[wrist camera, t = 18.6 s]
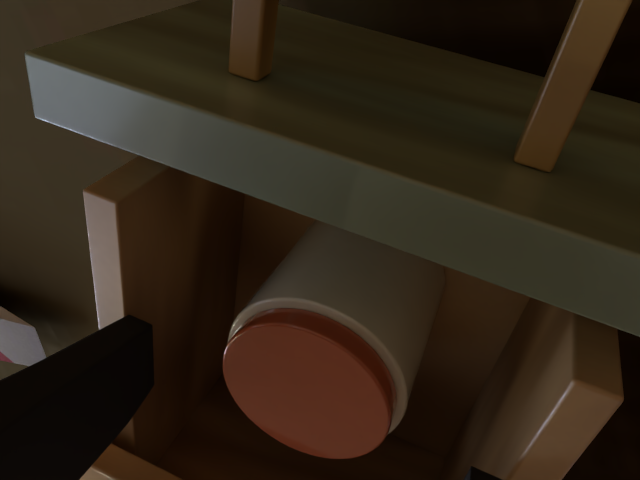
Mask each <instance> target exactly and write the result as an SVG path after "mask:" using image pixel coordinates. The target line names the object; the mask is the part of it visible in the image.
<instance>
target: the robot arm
mask: <svg viewBox="0 0 640 480" xmlns="http://www.w3.org/2000/svg"><path fill="white" fill-rule="evenodd" d="M153 386H154V357H153V326H152V324H150V323H147V322H145V321H143V320H141V319H138V318H136V317H134V316H132V315H127V316H125V317H123V318H121V319H119V320H117V321H115V322H113V323H111V324H110V325H108V326H106V327H104V328H102V329H100V330H98V331H96V332H95V333H93V334H91V335H89V336H87V337H85V338H83V339H81V340H80V341H78V342H76V343H74V344H72V345H70V346H68V347H66V348H64V349H62V350H61V351H59V352H57V353H55V354H53V355H51V356H49V357H47V358H45V359H43V360H41V361H39V362H37V363H35V364H33V365H31V366H29V367H27V368H25V369H23V370H21V371H19V372H17V373H15V374H13V375H10V376H8V377H6V378H4V379H2V380H0V480H79V479H80V478H81V477H82V476H83V475H84V474H85V473H86V471H87V470H88V469H89V468H90V467H91V466H92V465H93V464H94V462H95V461H96V460H97V459H98V458H99V457H100V456H101V454H102V453H103V452H104V451H105V450H106V449H107V447H108V446H109V445H110V444H111V443H112V442H113V441H114V439H115V438H116V437H117V436H118V435H119V434H120V432H121V431H122V430H123V429H124V428H125V427H126V425H127V424H128V423H129V421H130V420H131V418H132V417H133V416H134V414H135V413H136V411H137V410H138V409H139V407H140V406H141V404H142V403H143V401H144V400H145V398H146V397H147V395H148V394H149V392H150V391H151V389H152V388H153ZM464 480H502V479H500V478H498V477H495V476H493V475H491V474H489V473H486V472H484V471H482V470H480V469H477V468H475V467H473V466H471V468H470V469H469V471H468V473H467V474H466V476H465V478H464Z"/></svg>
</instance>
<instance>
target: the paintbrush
mask: <svg viewBox="0 0 640 480" xmlns="http://www.w3.org/2000/svg"><path fill="white" fill-rule="evenodd" d="M45 358H46V356H45V353H44V351H43V348H42V345H41V343H40V340H39V338H38V335H37V332H36V330H35V327H33V326H31V325H30V324H28V323H27V322H25V321H23V320H22V319H20V318H19V317H17V316H15V315H14V314H12V313H11V312H9V311H7V310H6V309H4V308H3V307H1V306H0V360H2V361H7V362H12V363H17V364H22V365H27V366H31V365H33V364H35V363H37V362H39V361H41V360H43V359H45Z"/></svg>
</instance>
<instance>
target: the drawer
mask: <svg viewBox="0 0 640 480" xmlns="http://www.w3.org/2000/svg"><path fill="white" fill-rule="evenodd" d="M631 2H632V0H576V3H575V5H574V8H573V10H572V13H571V15H570V17H569V20H568V22H567V25H566V27H565V29H564V32H563V34H562V37H561V39H560V42H559V44H558V46H557V49H556V51H555V54H554V56H553V58H552V61H551V63H550V66H549V68H548V71H547V73H546V75H545V77H541V76H538V75H534V74H530V73H527V72H523V71H520V70H516V69H512V68H509V67H505V66H501V65H498V64H494V63H490V62H487V61H483V60H479V59H476V58H472V57H468V56H465V55H461V54H458V53H454V52H450V51H447V50H443V49H439V48H436V47H432V46H428V45H425V44H421V43H417V42H414V41H410V40H407V39H403V38H399V37H396V36H392V35H388V34H385V33H381V32H377V31H374V30H370V29H366V28H363V27H359V26H355V25H352V24H348V23H345V22H341V21H337V20H334V19H330V18H326V17H323V16H319V15H315V14H312V13H308V12H304V11H301V10H297V9H294V8H290V7H286V6H283V5H279V4H278V3H279V0H199V1H196V2H192V3H189V4H186V5H182V6H179V7H175V8H172V9H168V10H165V11H162V12H158V13H155V14H151V15H148V16H145V17H141V18H138V19H134V20H131V21H128V22H124V23H121V24H117V25H114V26H110V27H107V28H104V29H100V30H97V31H93V32H90V33H87V34H83V35H80V36H76V37H73V38H70V39H66V40H63V41H59V42H56V43H52V44H49V45H46V46H42V47H39V48H35V49H32V50H29V51H26V52H25V61H26V67H27V73H28V79H29V85H30V91H31V97H32V104H33V110H34V115H35V117H36V118H37V119H40V120H43V121H46V122H48V123H51V124H54V125H57V126H59V127H62V128H65V129H68V130H70V131H73V132H76V133H79V134H81V135H84V136H87V137H90V138H93V139H95V140H98V141H101V142H104V143H106V144H109V145H112V146H115V147H117V148H120V149H123V150H126V151H128V152H131V153H134V154H137V155H139V156H138V157H136V158H134V159H133V160H131V161H129V162H128V163H126V164H125V165H123V166H121V167H120V168H118V169H116V170H115V171H113V172H111V173H110V174H108V175H106V176H105V177H103V178H102V179H100V180H98V181H97V182H95V183H93V184H92V185H90V186H88V187H87V188H85V189H84V190H83V196H84V204H85V213H86V221H87V230H88V238H89V247H90V255H91V264H92V273H93V281H94V290H95V298H96V307H97V315H98V324H99V330H100V329H102V328H104V327H106V326H108V325H110V324H111V323H113V322H115V321H117V320H119V319H121V318H123V317H125V316H127V315H132V316H134V317H136V318H138V319H141V320H143V321H145V322H147V323H150V324H152V326H153V357H154V386H153V388H152V389H151V391H150V392H149V394H148V395H147V397H146V398H145V400H144V401H143V403H142V404H141V406H140V407H139V409H138V410H137V411H136V413H135V414H134V416H133V417H132V418H131V420H130V421H129V423H128V424H127V425H126V427H125V428H124V429H123V430H122V431H121V432H120V434H119V435H118V436H117V437H116V438H115V439H114V441H113V442H112V443H113V444H114V445H116V446H118V447H119V448H121V449H123V450H125V451H127V452H129V453H131V454H133V455H135V456H137V457H139V458H141V459H143V460H145V461H147V462H149V463H151V464H153V465H155V466H157V467H159V468H161V469H163V470H165V471H167V472H169V473H171V474H173V475H175V476H177V477H179V478H181V479H183V480H464V478H465V476H466V474H467V473H468V471H469V469H470V468H471V466H473V467H475V468H477V469H480V470H482V471H484V472H486V473H489V474H491V475H493V476H495V477H498V478H500V479H502V480H562V479H563V477H564V476H565V475H566V474H567V472H568V471H569V470H570V468H571V467H572V466H573V465H574V463H575V462H576V461H577V460H578V458H579V457H580V456H581V454H582V453H583V452H584V451H585V449H586V448H587V447H588V446H589V444H590V443H591V442H592V440H593V439H594V438H595V437H596V435H597V434H598V433H599V432H600V430H601V429H602V428H603V426H604V425H605V424H606V423H607V421H608V420H609V419H610V418H611V416H612V415H613V414H614V412H615V411H616V410H617V409H618V407H619V406H620V405H621V404H622V402H623V401H624V394H623V383H622V373H621V363H620V352H619V342H618V331H617V329H620V330H622V331H625V332H628V333H631V334H633V335H636V336H639V337H640V103H636V102H633V101H629V100H625V99H622V98H618V97H614V96H611V95H607V94H603V93H600V92H596V91H592V90H590V89H591V87H592V85H593V83H594V81H595V79H596V77H597V75H598V72H599V70H600V68H601V66H602V64H603V62H604V60H605V58H606V55H607V53H608V51H609V49H610V47H611V45H612V43H613V41H614V39H615V36H616V34H617V32H618V30H619V28H620V26H621V24H622V22H623V19H624V17H625V15H626V13H627V11H628V9H629V7H630V5H631ZM314 219H316V220H319V221H322V222H324V223H327V224H330V225H333V226H335V227H338V228H341V229H344V230H346V231H349V232H352V233H355V234H357V235H360V236H363V237H366V238H369V239H371V240H374V241H377V242H380V243H382V244H385V245H388V246H391V247H393V248H396V249H399V250H402V251H404V252H407V253H410V254H413V255H415V256H418V257H421V258H424V259H426V260H429V261H432V262H435V263H438V264H440V265H443V268H444V273H445V290H444V295H443V298H442V301H441V304H440V307H439V311H438V314H437V317H436V320H435V323H434V326H433V329H432V332H431V335H430V338H429V341H428V344H427V347H426V351H425V354H424V357H423V360H422V363H421V366H420V369H419V372H418V375H417V378H416V381H415V384H414V387H413V390H412V394H411V397H410V400H409V403H408V406H407V409H406V412H405V415H404V417H403V419H402V420H401V422H400V423H399V425H398V426H397V427H396V428H395V429H394V430H393V431H392V432H390V433H389V434H388V435H387V436H386V438H385V440H384V441H383V442H382V443H381V444H380V445H379V446H378V447H377V448H376V449H374V450H373V451H372V452H370V453H368V454H366V455H363V456H360V457H356V458H351V459H328V458H321V457H317V456H313V455H309V454H306V453H303V452H300V451H298V450H295V449H293V448H290V447H288V446H287V445H285V444H283V443H281V442H279V441H277V440H276V439H274V438H272V437H271V436H270V435H268V434H267V433H265V432H264V431H263V430H261V429H260V428H259V427H258V426H257V425H255V424H254V423H253V422H252V421H251V420H250V419H249V418H248V417H247V416H246V415H245V414H244V412H243V411H242V410H241V409H240V408H239V406H238V405H237V403H236V402H235V401H234V399H233V397H232V396H231V394H230V392H229V390H228V387H227V385H226V382H225V379H224V375H223V369H222V360H223V355H224V350H225V348H226V345H227V343H228V337H229V331H230V328H231V326H232V323H233V321H234V320H235V318H236V317H237V315H238V314H239V313H240V311H241V310H242V309H243V308H244V306H245V305H246V304H247V303H248V301H249V300H250V299H251V298H252V296H253V295H254V294H255V293H256V291H257V290H258V289H259V287H260V286H261V285H262V284H263V282H264V281H265V280H266V279H267V277H268V276H269V275H270V274H271V272H272V271H273V270H274V269H275V267H276V266H277V265H278V264H279V262H280V261H281V260H282V259H283V257H284V256H285V255H286V254H287V252H288V251H289V250H290V248H291V247H292V246H293V245H294V243H295V242H296V241H297V240H298V238H299V237H300V236H301V235H302V233H303V232H304V231H305V230H306V228H307V227H308V226H309V225H310V224H311V223H312V221H313V220H314Z"/></svg>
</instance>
